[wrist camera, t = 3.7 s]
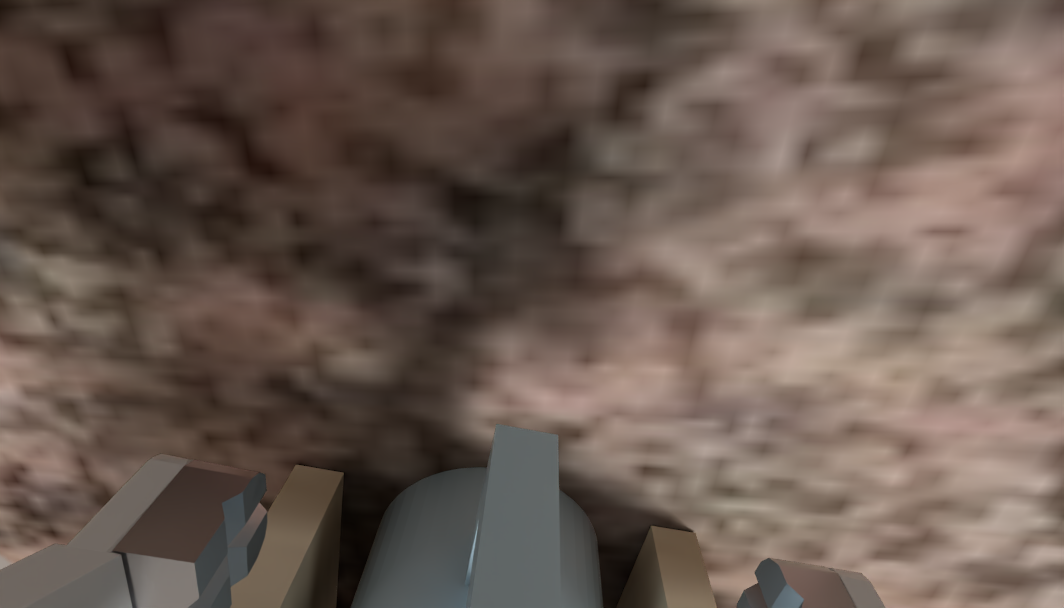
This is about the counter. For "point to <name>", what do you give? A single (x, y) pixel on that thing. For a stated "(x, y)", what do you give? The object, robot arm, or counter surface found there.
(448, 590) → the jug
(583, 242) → the counter surface
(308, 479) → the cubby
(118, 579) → the robot arm
